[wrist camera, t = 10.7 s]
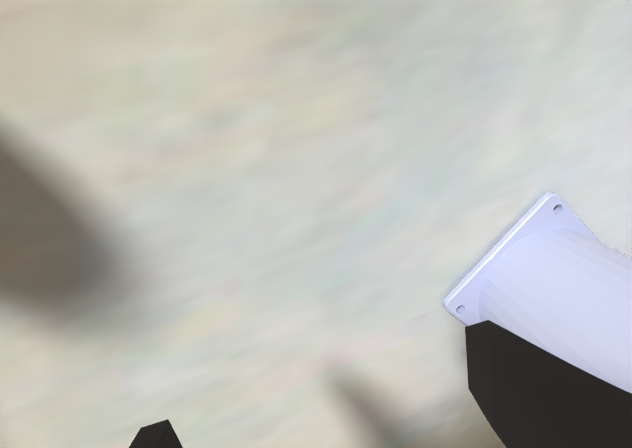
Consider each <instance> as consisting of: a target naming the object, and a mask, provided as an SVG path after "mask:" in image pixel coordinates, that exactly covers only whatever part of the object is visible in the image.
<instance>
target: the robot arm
mask: <svg viewBox="0 0 632 448" xmlns="http://www.w3.org/2000/svg"><path fill="white" fill-rule="evenodd" d="M555 206H556V209H555V210H554V208H555ZM553 210H554V211H553ZM443 306H444V307H445V309H446V310H447V311H448V312H449V313H451V314H452V315H454V316H455V317H456V318H458V319H459V320H460V321H462V322H463V323H464V324H466V325H467V327H465V332H466V350H467V368H468V385H469V390H470V391H471V393H472V395H473V397H474V398H475V400H476V402H477V403H478V405H479V407H480V409H481V410H482V412H483V414H484V415H485V417H486V419H487V420H488V422H489V423H490V425H491V427H492V428H493V430H494V431H495V432H496V434H497V435H498V437H499V438H500V439H501V441H502V442H503V443H504V445H505V446H506V447H507V448H632V257H630V256H628V255H625V254H623V253H621V252H619V251H617V250H615V249H613V248H611V247H609V246H606V245H604V244H602V243H601V242H600V241H599V240H598V238H597V237H596V236H595V235H594V234H593V233H592V232H591V231H590V229H589V228H588V227H587V226H586V225H585V224H584V223H583V222H582V220H581V219H580V218H579V217H578V216H577V215H576V214H575V213H574V212H573V210H572V209H571V208H570V207H569V206H568V205H567V204H566V203H565V201H564V200H563V199H562V198H561V197H560V196H559V195H557V194H555V193H553V192H548V193H546V194H544V195H543V196H542V197H541V198H540V199H539V200H538V201H537V202H536V203H535V204H534V205H533V206H532V207H531V208H530V210H529V211H528V212H527V213H526V214H525V215H524V216H523V217H522V218H521V219H520V220H519V221H518V222H517V223H516V224H515V225H514V226H513V227H512V228H511V229H510V230H509V232H508V233H507V234H506V235H505V236H504V237H503V238H502V239H501V240H500V241H499V242H498V243H497V244H496V245H495V246H494V247H493V248H492V249H491V250H490V251H489V252H488V254H487V255H486V256H485V257H484V258H483V259H482V260H481V261H480V262H479V263H478V264H477V265H476V266H475V267H474V268H473V269H472V270H471V271H470V272H469V273H468V274H467V275H466V277H465V278H464V279H463V280H462V281H461V282H460V283H459V284H458V285H457V286H456V287H455V288H454V289H453V290H452V291H451V292H450V293H449V294H448V295H447V296H446V298H445V299H444V301H443ZM459 306H461V307H460V308H459V309H457V308H458V307H459ZM129 448H183V447H182V445H181V443H180V441H179V439H178V437H177V435H176V434H175V432H174V430H173V428H172V426H171V424H170V422H169V420H165V421H161V422H158V423H155V424H152V425H149V426H145V427H142V428H141V429H140V430H139V432H138V433H137V435H136V437H135V438H134V440H133V442H132V443H131V445H130V447H129Z"/></svg>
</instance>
